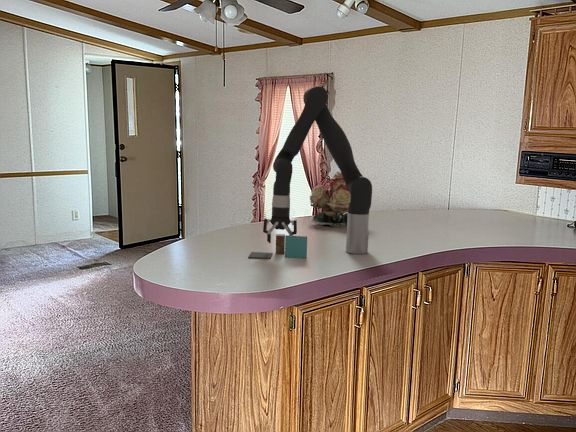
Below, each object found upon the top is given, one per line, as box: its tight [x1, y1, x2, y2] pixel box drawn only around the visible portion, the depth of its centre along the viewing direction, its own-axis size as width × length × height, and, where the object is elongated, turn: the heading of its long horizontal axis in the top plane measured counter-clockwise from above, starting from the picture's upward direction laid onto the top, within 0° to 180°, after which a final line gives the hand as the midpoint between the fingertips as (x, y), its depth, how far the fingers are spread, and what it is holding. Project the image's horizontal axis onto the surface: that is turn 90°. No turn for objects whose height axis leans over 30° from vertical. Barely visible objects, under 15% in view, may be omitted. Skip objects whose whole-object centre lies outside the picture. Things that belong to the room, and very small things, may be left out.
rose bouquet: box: [309, 170, 351, 228], centre depth 302 cm, size 26×29×30 cm
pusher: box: [275, 233, 286, 255], centre depth 225 cm, size 4×4×8 cm
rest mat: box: [248, 251, 273, 260], centre depth 219 cm, size 9×9×1 cm
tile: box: [284, 234, 308, 259], centre depth 218 cm, size 9×2×9 cm, turn 86°
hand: (279, 243), depth 225 cm, fingers open, 8 cm apart
